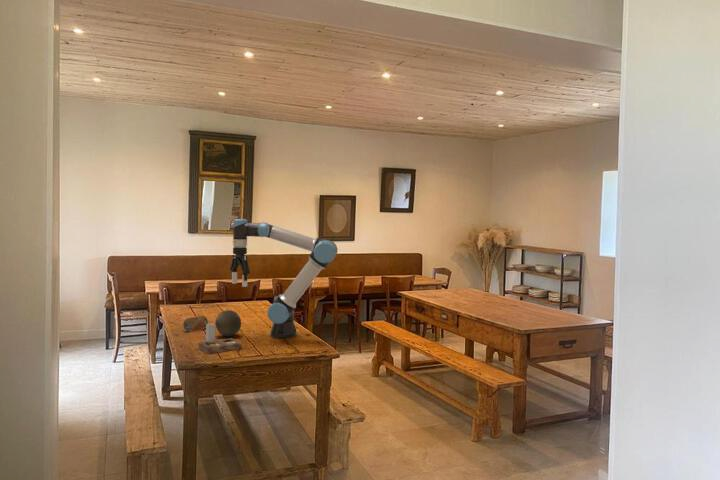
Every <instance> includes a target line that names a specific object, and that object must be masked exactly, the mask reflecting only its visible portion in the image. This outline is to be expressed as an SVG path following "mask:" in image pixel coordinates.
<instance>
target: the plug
mask: <svg viewBox="0 0 720 480" xmlns="http://www.w3.org/2000/svg"><path fill="white" fill-rule="evenodd" d="M205 329H206V330H205V332H206V333H205V342H206V344H207V345H209V344H215V340H216V324H215V323H213V322H211V323H208V324H206V328H205Z"/></svg>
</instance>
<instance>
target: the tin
mask: <svg viewBox="0 0 720 480" xmlns="http://www.w3.org/2000/svg"><path fill="white" fill-rule="evenodd" d="M208 321H209V320H208V318H207V317H206V316H204V315H197V316H191V317H187V318H186V319H184V321H183V324H182V326H183V329H184V330H185V331H187V332H191V333H192V332H196V331H204V330H205V329H206V324H209V323H208Z"/></svg>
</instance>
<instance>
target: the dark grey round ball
mask: <svg viewBox="0 0 720 480" xmlns="http://www.w3.org/2000/svg"><path fill="white" fill-rule="evenodd" d="M214 324H215V329H216V330H217V332H218V333H220V334H221V335H222V336H224V337H232V336H233V337H234V336H235V335H236V334H238V332H239V331H240V330H241V327H242V320H241V318H240V315H239V313H237V312H236V311H234V310H231V309H229V310H228V309H227V310H223V311H221V312H219V313H218V314H217V316H216V317H215V323H214Z"/></svg>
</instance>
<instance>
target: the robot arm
mask: <svg viewBox="0 0 720 480" xmlns="http://www.w3.org/2000/svg"><path fill="white" fill-rule="evenodd" d="M232 228H233V230H232V237H233V238H232V240H233V241H232V246H233V247H232V259H231V265H230V268H229V270H230V272H231V284H233V285H234V284H236V285H237V284H238V268H239V266H240V268H241V272H242V274H241V277H242V278H241V279H242V281H241V287H242V288H243V287H246V288H247V287H248V278H249V277H248V276H249V275H250V273H251V271H250V267H249V263H248V261H249V260H248V256H245V255H247V254H248V248H247V247H248V237H255V238H256V237H259V238H268V239H270V240H274V241H279V242H281V243H284V244H287V245H291V246H293V247H296V248H300V249H303V250H306V251H309V252H311V253H310V254H309V255H308V261H307V263H305V265H304V266H303V268H302V269H301V270H300V271H299V273H298V275H296V277H295V278H294V279H293V281H292V282H291V283H290V285H288V287H287V289H286V290H285V291H284V293H282V294H278V295H277V296H274V297H273V302H272V303H271V305H270V306H269V307H268V309H267V317H268V319H269V321H271V322H272V326H271V330H270V334H269V335H270V337H272V338H276V339H291V338H295V337H297V334H298V333H297V328H296V325H295V321H294V320H295V319H294V318H295V310H296V308H297V302H298V301H299V300H300V298H301V297H302V296H303V295H304V293H305V292H306V291H307V290H308V288H309V287H310V285H311V284H312V283H313V281H314V280H315V279H316V278H317V276H318V275H319V274H320V272H321V271H322V270H325V269H327V267H328V266H329V265H330V263H331V262H332V261H333V260H334V259H335V258H336V256H337V255H338V246H337V244H336V243H335V242H334V241H333V240H329V239H324V238H320V237H315V238H314V237H310V236H308V235H304V234H301V233H298V232H295V231H291V230H288V229H285V228H282V227H279V226H276V225H272V224H270V223H267V222H264V221H263V222H248V220H247V219H246V218H241V219H240V218H235V219H233V225H232Z"/></svg>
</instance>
